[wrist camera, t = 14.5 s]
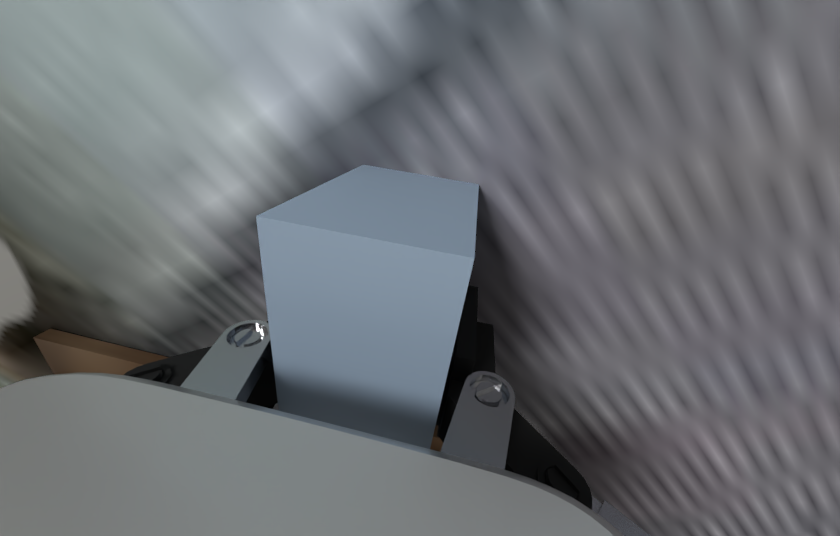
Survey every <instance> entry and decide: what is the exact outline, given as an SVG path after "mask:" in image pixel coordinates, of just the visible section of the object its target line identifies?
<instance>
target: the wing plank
mask: <svg viewBox="0 0 840 536" xmlns="http://www.w3.org/2000/svg"><path fill="white" fill-rule="evenodd" d="M478 192H479V184H474V183H468V182H462V181H456V180H450V179H444V178H438V177H432V176H427V175H421V174H415V173H409V172H403V171H397V170H391V169H385V168H379V167H374V166H368V165H362V166H360V167H358V168H355V169H353V170H351V171H349V172H347V173H345V174H343V175H341V176H339V177H337V178H335V179H333V180H330V181H328V182H326V183H324V184H322V185H320V186H318V187H316V188H314V189H312V190H310V191H308V192H305V193H303V194H301V195H299V196H297V197H295V198H293V199H291V200H289V201H287V202H285V203H283V204H280V205H278V206H276V207H274V208H272V209H270V210H268V211H266V212H264V213H262V214H260V215H258V216H256V220H257V228H258V237H259V245H260V254H261V263H262V271H263V280H264V288H265V297H266V306H267V314H268V323H269V331H270V340H271V349H272V357H273V366H274V374H275V383H276V392H277V400H278V409H279V411H282V412H286V413H290V414H294V415H298V416H302V417H306V418H310V419H314V420H318V421H322V422H326V423H330V424H334V425H338V426H342V427H346V428H350V429H354V430H358V431H361V432H365V433H369V434H373V435H377V436H381V437H385V438H389V439H393V440H396V441H400V442H404V443H408V444H412V445H416V446H420V447H424V448H427V449H430V447H431V443H432V438H433V434H434V430H435V425H436V421H437V417H438V413H439V408H440V404H441V400H442V395H443V391H444V387H445V383H446V378H447V374H448V370H449V365H450V361H451V357H452V353H453V348H454V344H455V340H456V335H457V331H458V327H459V323H460V318H461V314H462V310H463V305H464V301H465V297H466V293H467V288H468V284H469V280H470V275H471V271H472V267H473V263H474V258H475V242H476V225H477V209H478Z"/></svg>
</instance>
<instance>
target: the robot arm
mask: <svg viewBox="0 0 840 536" xmlns="http://www.w3.org/2000/svg"><path fill="white" fill-rule="evenodd" d="M477 298H478V287H473V286H468V288H467V293H466V297H465V301H464V305H463V310H462V314H461V318H460V323H459V327H458V331H457V335H456V340H455V344H454V348H453V353H452V357H451V361H450V365H449V370H448V374H447V378H446V383H445V387H444V391H443V395H442V400H441V404H440V408H439V413H438V417H437V421H436V425H437V426H438V431H437V437H439V438H440V439H441V440H442V442H443V445H442V448H441V451H440V452H439V451H435V450H431V449H427V448H424V447H420V446H416V445H412V444H408V443H404V442H400V441H396V440H393V439H389V438H385V437H381V436H377V435H373V434H369V433H365V432H361V431H358V430H354V429H350V428H346V427H342V426H338V425H334V424H330V423H326V422H322V421H318V420H314V419H310V418H306V417H302V416H298V415H294V414H290V413H286V412H282V411H279V409H278V400H277V392H276V383H275V374H274V366H273V357H272V349H271V340H270V331H269V323H268V321H267V322H265V321H260V320H248V321H242V322H240V323H237V324H234V325H232V326H231V327H229V328H228V329H226V330H225V331H224V332H223V333H222V335H221V336H220V337H219V338H218V340H217V341H216V342H215V343H214V345H213V346H211V347H207V348H203V349H200V350H196V351H192V352H188V353H185V354H181V355H177V356H173V357H170V358H166V359H162V360H158V361H155V362H151V363H147V364H144V365H141V366H138V367H136V368H134V369H132V370H130V371H128V372H126V373H125V374H124V375H117V374H107V373H82V372H79V373H65V374H53V375H47V376H40V377H35V378H30V379H25V380H22V381H18V382H15V383H12V384H9V385H7V386H5V387H2V388H0V536H650V535H649V534H647V533H646V532H645V531H644V530H642V529H641V528H640V527H638V526H637V525H636V524H635V523H633V522H632V521H631V520H630V519H628V518H627V517H626V516H624V515H623V514H622V513H621V512H619V511H618V510H617V509H616V508H614V507H613V506H612V505H610V504H609V503H608V502H607V501H605V500H604V501H603V503H600V502H599V501H598V500H597V499H595V498H594V497H593V496H592V495H591V492H590V488H589V487H588V485H587V483H586V481H585V479H584V478H583V477H582V476H581V474H580V473H579V472H578V471H577V470H576V469H575V468H574V467H573V466H572V465H571V464H570V463H569V462H568V461H567V460H566V459H565V458H564V457H563V456H562V455H561V454H560V453H559V452H558V451H557V450H556V449H555V448H554V447H553V446H552V445H551V444H550V443H549V442H548V441H547V440H546V439H545V438H543V437H542V436H541V435H540V434H539V433H538V432H537V431H536V430H535V429H534V428H533V427H532V426H531V425H530V424H529V423H528V422H527V421H526V420H525V419H524V418H523V417H522V416H521V415H520V414H519V413H518V412H517V411H516V410H515V409H514V405H515V393H514V391H513V388H512V387H511V385H510V384H509V383H508V382H507V381H506V380H505V379H504V378H502V377H501V376H499V375H497V374H495V357H494V335H493V325H490V324H485V323H480V322H477Z"/></svg>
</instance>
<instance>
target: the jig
mask: <svg viewBox="0 0 840 536" xmlns="http://www.w3.org/2000/svg"><path fill="white" fill-rule="evenodd" d="M33 338H34V340H35V342H36V344H37V345H38V347H39V349H40V351H41V353H42V354H43V356H44V358H45V360H46V361H47V363H48V365H49V367H50V369H51V370H52V372H53V374H65V373H79V372H82V373H107V374H117V375H124V374H125V373H126V372H128V371H130V370H132V369H134V368H136V367H138V366H141V365H144V364H147V363H151V362H155V361H158V360H162V359H166V358H169V357H165V356H161V355H157V354H153V353H149V352H145V351H141V350H136V349H132V348H128V347H124V346H120V345H116V344H112V343H108V342H104V341H100V340H95V339H91V338H87V337H83V336H79V335H75V334H71V333H67V332H63V331H58V330H54V329H49V330H47V331H45V332H43V333H41V334H39V335H37V336H35V337H33ZM437 431H438V426H437V425H435V430H434V434H433V438H432V443H431V447H430V449H431V450H435V451H439V452H440V451H441V448H442V445H443V442H442V440H441V439H440V438H439V437H437Z"/></svg>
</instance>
